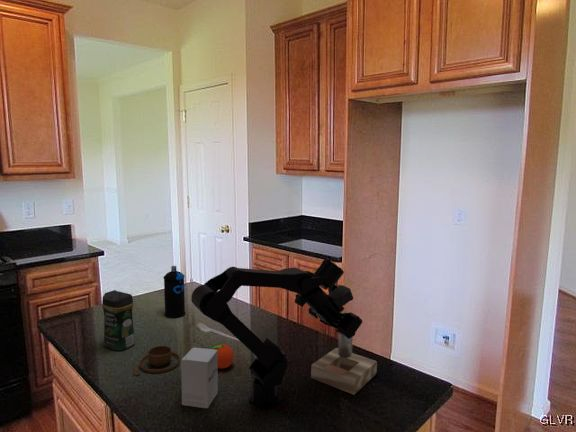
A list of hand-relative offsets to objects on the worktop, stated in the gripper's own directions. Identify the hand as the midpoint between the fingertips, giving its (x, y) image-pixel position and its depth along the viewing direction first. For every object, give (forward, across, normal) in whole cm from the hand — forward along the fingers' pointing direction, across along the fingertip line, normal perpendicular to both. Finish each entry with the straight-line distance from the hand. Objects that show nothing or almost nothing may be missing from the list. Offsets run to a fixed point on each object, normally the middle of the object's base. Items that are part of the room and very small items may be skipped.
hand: (349, 332), depth 121 cm
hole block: (+8, 0, +10) cm, 13 cm away
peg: (+4, 0, +6) cm, 7 cm away
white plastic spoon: (-6, +45, +26) cm, 53 cm away
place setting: (-22, +29, +43) cm, 56 cm away
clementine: (-12, +22, +32) cm, 41 cm away
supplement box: (-20, +9, +40) cm, 45 cm away
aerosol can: (-13, +70, +33) cm, 79 cm away
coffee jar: (-30, +52, +50) cm, 77 cm away
